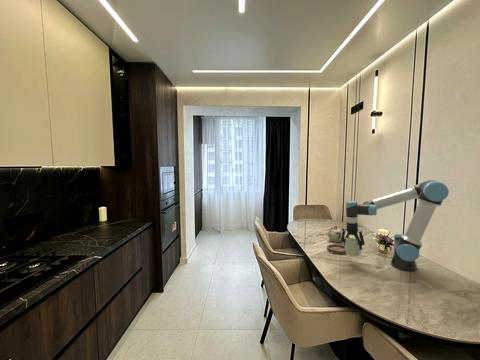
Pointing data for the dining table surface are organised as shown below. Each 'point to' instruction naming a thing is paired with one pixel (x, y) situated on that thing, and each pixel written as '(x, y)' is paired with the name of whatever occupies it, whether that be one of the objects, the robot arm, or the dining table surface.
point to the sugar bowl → (335, 234)
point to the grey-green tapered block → (352, 246)
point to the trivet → (336, 249)
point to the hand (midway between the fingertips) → (352, 252)
